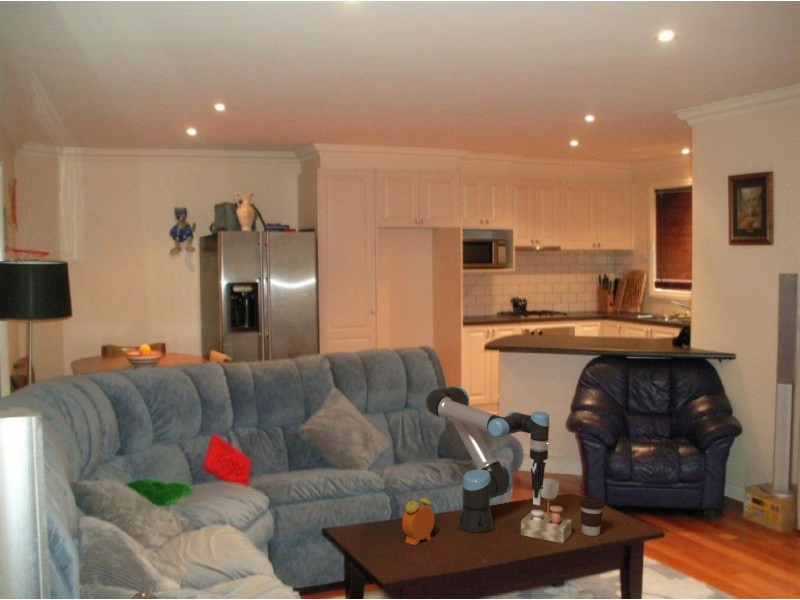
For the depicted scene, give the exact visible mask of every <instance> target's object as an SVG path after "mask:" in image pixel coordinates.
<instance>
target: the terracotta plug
mask: <svg viewBox="0 0 800 600" xmlns="http://www.w3.org/2000/svg"><path fill="white" fill-rule="evenodd" d="M563 510H564V507H562V506H561V505H558V504H557V505H556V504H555V505H549V512H551V513H552V519H551V523H552V524H557V525H560V518H561V515H562V512H563Z"/></svg>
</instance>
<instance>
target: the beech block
mask: <svg viewBox="0 0 800 600" xmlns="http://www.w3.org/2000/svg"><path fill="white" fill-rule="evenodd" d="M551 519H552V516H548V515H543V516H542V521H536V520H533V515H531V512H529V513H528V514H527V515H526V516H525V517H523V518H522V519H521V520H520V536H526V537H530V538H534V539H535V538H536V539H539V540H540V539H541V540H545V541H551V542H556V543H559V544H564V543H565V542H566V541H567V540H568V538H569V537H570V536H571V535H572V523H573V522H572V519H570V518H564V517H560V525H557V524H552V523H551Z"/></svg>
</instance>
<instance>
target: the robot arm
mask: <svg viewBox="0 0 800 600" xmlns="http://www.w3.org/2000/svg"><path fill="white" fill-rule="evenodd" d="M469 396H470V395H469V394H468V391H466V390H465V388H463V387H461V386H456V385H455V386H453V385H452V386H448V387H443V388H442V387H441V388H435V389H433V390H431V391H430V392H428V394H427V396H426V399H425V406H426V409H427V410H428V412H429V413H430V414H432V415H433V416H436V417H437V418H438V417H439V418H442V419H447V421H448V422H449V421H450V422H452V424H453V426H454V427H455V429H456V431H457V433H458V435H459V438H461V441H462V443H463V444H464V446H465V449H466V450H467V452H468V453H469V456H470V457H471V460H472V461H473V463H474V465H475V467H476V469H472V470H468V471H467V472H465V473H464V475H463V478H462V479H463V480H462V506H461V507H462V509H461V511H460V515H459V517H458V520H457V525H458V526H457V527H458V528H459V529H460V530H462V531H465V532H469V533H476V534H477V533H478V534H479V533H481V534H482V533H487V532H490V531H492V530H493V529H494V520H493V515H492V513H491V510H490V509H491V506H490V505H491V504H490V503H491V500H492V499H494V498H496V497H500V496H503V495H505V494H507V493H508V492H510V491H511V489H512V488H513V483H514V475H513V474H512V471H511V470H510V469H509V468H508V467H506V466H503V465H502V464H501V462H500V461H499V460H498V459H495V458H494V456H493V454H492V453H491V451H490V449H489V448H488V446H487V444H486V442H485V440H484V437H482V434H481V432H480V431H479V429H480V430H483V431H486V432H488V433H489V435H491V436H492V437H494V438H502V437H505V436H508V435H512V434H516V433H519V432H520V433H521V432H522V433H525V434H526V433H527V434H530V435H529V436H530V438H529V448H530V449H529V458H530V459H531V460H533V462H532V467H531V468H530V472H531V473H530V474H531V475H530V476H531V490H533V495H532V496H533V497H532V499H533V500H532V504H533V505H536V506H541V500H542V499H541V498H542V496H541V489H543V487H542V486H543V479H545V477H544V476H545V470H546V469H545V468H546V462H545V461H547V460H548V459H549V451H548V449H549V446H550V442H549V435H550V434H549V432H550V425H551V424H550V423H551V422H550V414H549V413H547V412H544V411H532V412H531V415H530V414H525V413H522V412H521V413H520V412H518V411H509V412H508V414H507V415H505V416H500V415H497V414H494V413H491V412H487V411H485V410H481V409H478V408H476V407H473V406H470V397H469Z"/></svg>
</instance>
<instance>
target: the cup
mask: <svg viewBox="0 0 800 600" xmlns="http://www.w3.org/2000/svg"><path fill="white" fill-rule="evenodd" d="M542 487H543V489H541V498H543V500H545V501H547V504H546V505H547V508H546V509H547V510H546V512H545V511H544V515H548V516H552V512H550V501H554V499H555V498H557V496H558V494H559V493H558V492H559V489H560V483H559V481H558V480H557V479H554V478H545V477H544V479H543V486H542Z"/></svg>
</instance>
